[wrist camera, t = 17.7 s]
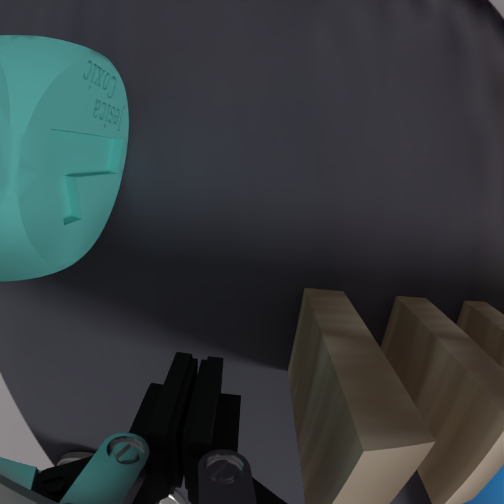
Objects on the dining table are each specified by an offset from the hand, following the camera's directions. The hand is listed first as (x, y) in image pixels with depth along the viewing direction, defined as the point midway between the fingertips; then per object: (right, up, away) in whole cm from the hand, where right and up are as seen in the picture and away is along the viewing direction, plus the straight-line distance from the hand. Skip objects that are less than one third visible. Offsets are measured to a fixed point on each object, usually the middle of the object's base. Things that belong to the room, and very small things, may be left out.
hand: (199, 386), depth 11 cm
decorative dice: (-8, +10, +3) cm, 13 cm away
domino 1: (+5, +1, +5) cm, 7 cm away
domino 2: (+10, 0, +5) cm, 11 cm away
